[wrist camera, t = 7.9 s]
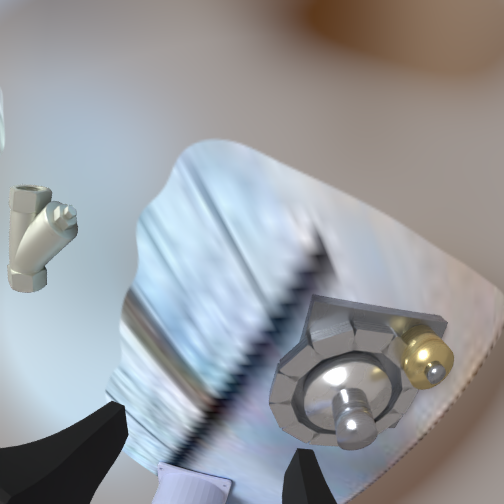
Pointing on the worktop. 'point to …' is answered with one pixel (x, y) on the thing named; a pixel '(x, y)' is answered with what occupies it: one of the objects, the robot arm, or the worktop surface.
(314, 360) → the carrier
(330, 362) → the silver stemmed round piece
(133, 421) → the worktop surface
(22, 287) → the pipe fitting
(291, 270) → the worktop surface
